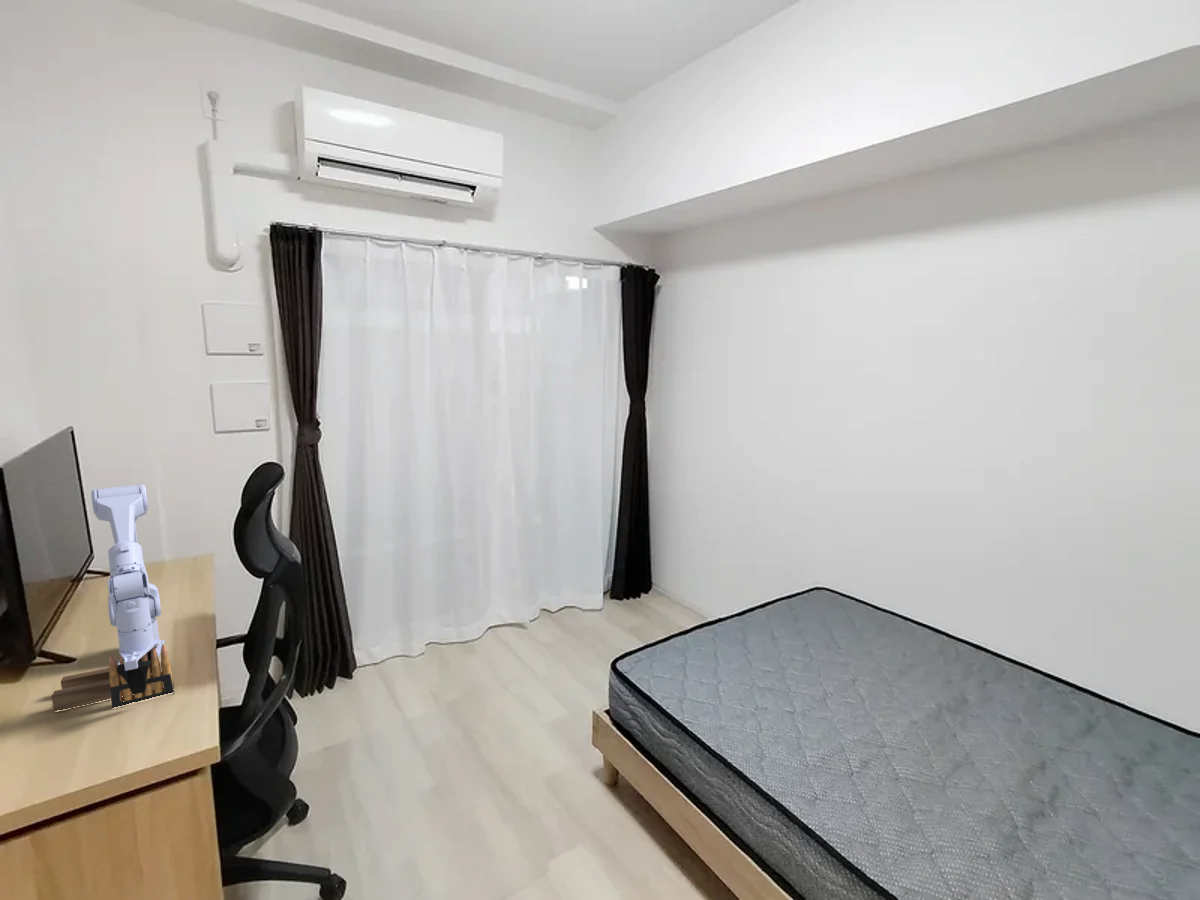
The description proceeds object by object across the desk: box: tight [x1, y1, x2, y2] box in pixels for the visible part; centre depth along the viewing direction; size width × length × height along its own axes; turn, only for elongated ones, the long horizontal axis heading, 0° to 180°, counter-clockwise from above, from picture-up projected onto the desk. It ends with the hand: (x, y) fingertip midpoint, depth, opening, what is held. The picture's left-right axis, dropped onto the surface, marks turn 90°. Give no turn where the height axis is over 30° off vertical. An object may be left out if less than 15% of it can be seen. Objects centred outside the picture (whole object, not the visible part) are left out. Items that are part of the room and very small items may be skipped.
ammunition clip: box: [108, 643, 175, 709], centre depth 124 cm, size 11×2×12 cm, turn 122°
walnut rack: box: [51, 665, 123, 712], centre depth 127 cm, size 8×15×4 cm, turn 120°
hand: (142, 684), depth 125 cm, fingers open, 6 cm apart
